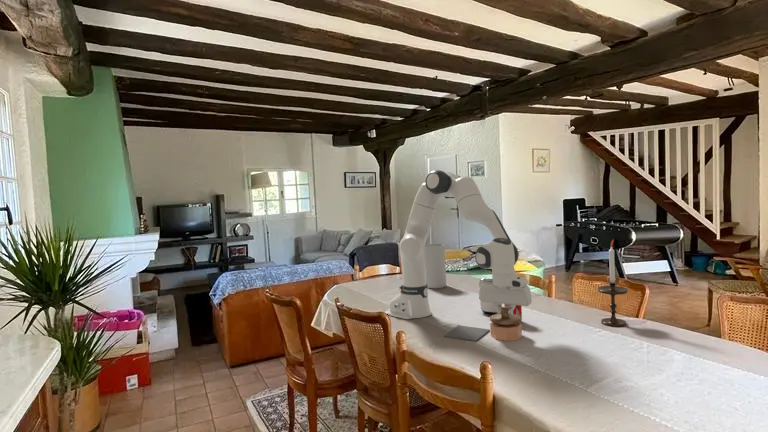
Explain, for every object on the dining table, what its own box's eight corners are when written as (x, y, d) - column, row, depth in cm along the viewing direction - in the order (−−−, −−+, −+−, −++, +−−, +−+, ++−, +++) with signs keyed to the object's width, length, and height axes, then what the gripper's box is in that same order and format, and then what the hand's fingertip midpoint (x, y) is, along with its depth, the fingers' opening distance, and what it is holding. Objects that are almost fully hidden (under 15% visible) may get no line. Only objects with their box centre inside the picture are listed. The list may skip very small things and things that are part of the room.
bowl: (487, 338, 176) (487, 325, 176) (497, 329, 185) (497, 317, 185) (515, 342, 170) (515, 329, 170) (524, 333, 179) (524, 321, 179)
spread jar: (492, 316, 203) (491, 291, 203) (472, 312, 212) (471, 288, 211) (507, 310, 211) (506, 286, 211) (487, 306, 220) (486, 283, 219)
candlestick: (631, 322, 185) (629, 237, 183) (624, 329, 177) (622, 241, 175) (603, 317, 192) (601, 236, 190) (595, 324, 184) (592, 240, 182)
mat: (443, 336, 181) (443, 335, 181) (458, 326, 193) (458, 325, 193) (476, 341, 173) (476, 340, 173) (489, 330, 185) (489, 329, 185)
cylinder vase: (424, 289, 264) (422, 247, 262) (426, 284, 276) (423, 244, 275) (446, 288, 262) (443, 246, 260) (446, 283, 274) (444, 243, 273)
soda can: (522, 324, 190) (521, 296, 189) (505, 324, 191) (504, 296, 191) (521, 319, 197) (520, 292, 196) (504, 319, 198) (503, 292, 198)
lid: (485, 322, 176) (484, 310, 175) (496, 313, 186) (495, 302, 185) (515, 326, 169) (515, 313, 169) (525, 317, 179) (524, 305, 179)
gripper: (475, 279, 179) (477, 313, 180) (527, 283, 168) (528, 319, 169) (481, 276, 185) (483, 309, 186) (532, 280, 173) (533, 315, 174)
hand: (505, 314), depth 177 cm, fingers closed on lid, 3 cm apart
